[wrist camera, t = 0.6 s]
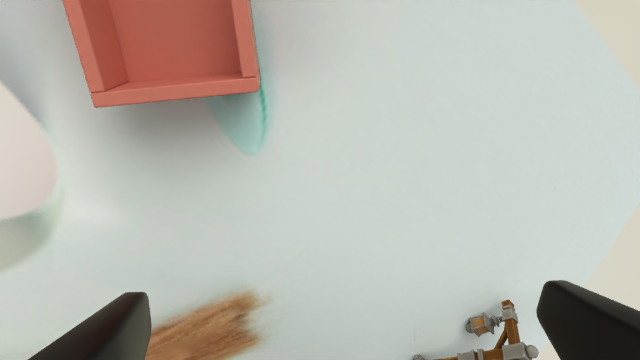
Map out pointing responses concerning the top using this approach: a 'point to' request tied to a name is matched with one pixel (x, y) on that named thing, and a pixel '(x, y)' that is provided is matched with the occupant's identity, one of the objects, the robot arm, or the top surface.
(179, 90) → the tray
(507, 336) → the wooden post with brackets
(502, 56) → the top surface
